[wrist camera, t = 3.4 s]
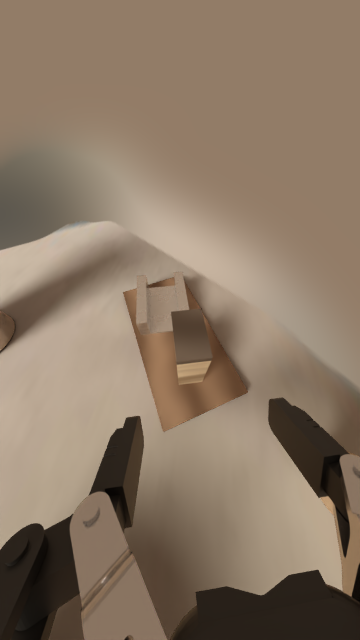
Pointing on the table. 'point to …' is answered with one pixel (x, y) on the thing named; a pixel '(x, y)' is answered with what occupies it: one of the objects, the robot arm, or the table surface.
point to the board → (163, 377)
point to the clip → (159, 304)
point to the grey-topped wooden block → (191, 345)
